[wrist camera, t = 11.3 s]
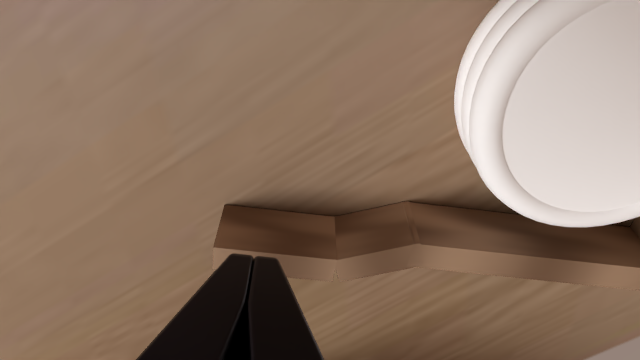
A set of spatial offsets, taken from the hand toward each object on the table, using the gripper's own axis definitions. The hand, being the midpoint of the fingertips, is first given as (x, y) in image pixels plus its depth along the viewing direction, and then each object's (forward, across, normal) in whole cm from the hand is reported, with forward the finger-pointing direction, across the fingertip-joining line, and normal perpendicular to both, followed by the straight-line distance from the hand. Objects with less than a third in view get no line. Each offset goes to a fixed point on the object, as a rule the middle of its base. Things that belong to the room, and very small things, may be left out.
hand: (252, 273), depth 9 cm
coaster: (+12, -12, -1) cm, 17 cm away
